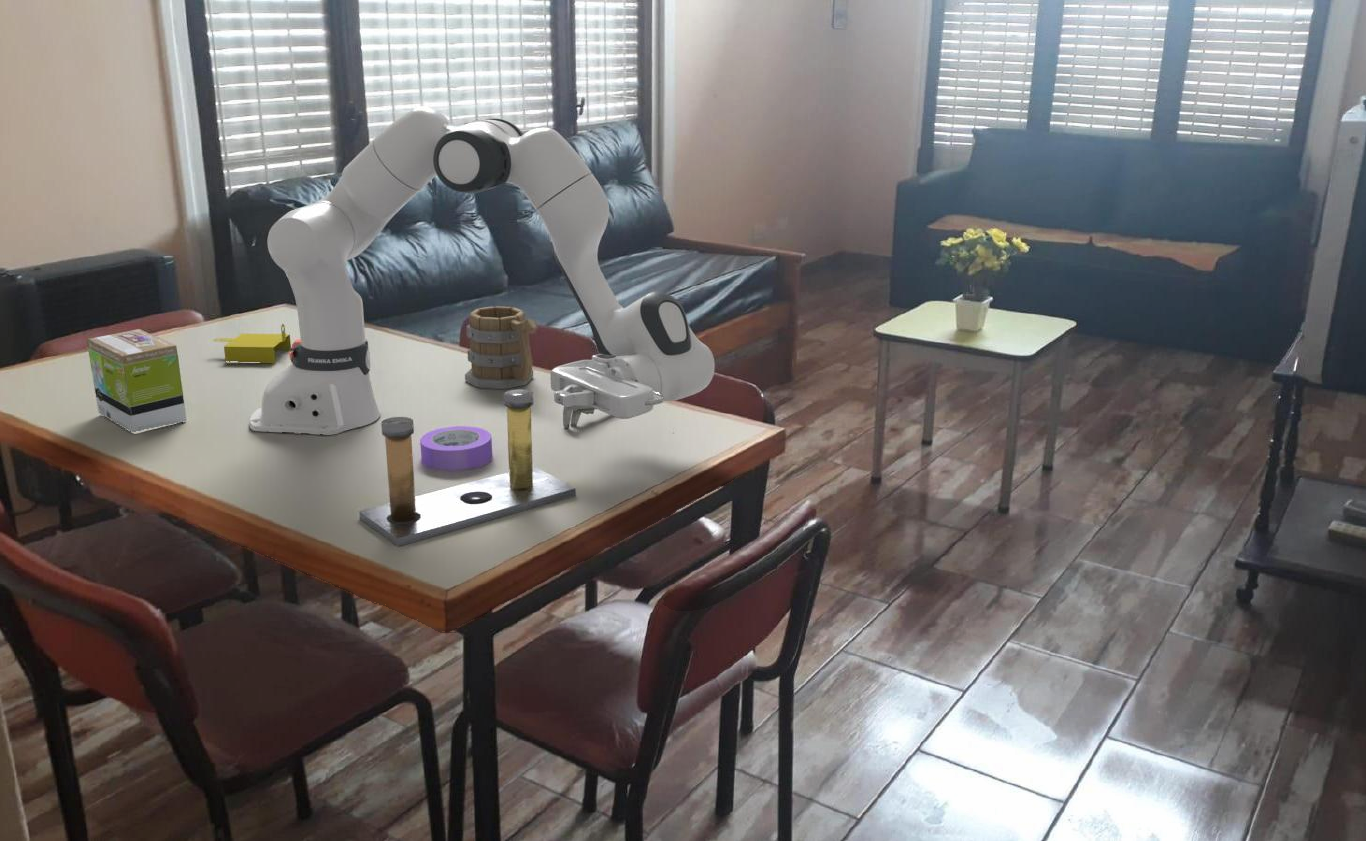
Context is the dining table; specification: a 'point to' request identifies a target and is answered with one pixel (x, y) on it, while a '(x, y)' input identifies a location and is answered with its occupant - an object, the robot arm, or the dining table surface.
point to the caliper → (575, 414)
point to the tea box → (137, 379)
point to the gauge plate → (466, 506)
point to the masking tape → (456, 448)
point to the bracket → (256, 347)
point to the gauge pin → (519, 437)
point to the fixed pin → (400, 467)
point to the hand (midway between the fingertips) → (559, 399)
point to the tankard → (499, 348)
